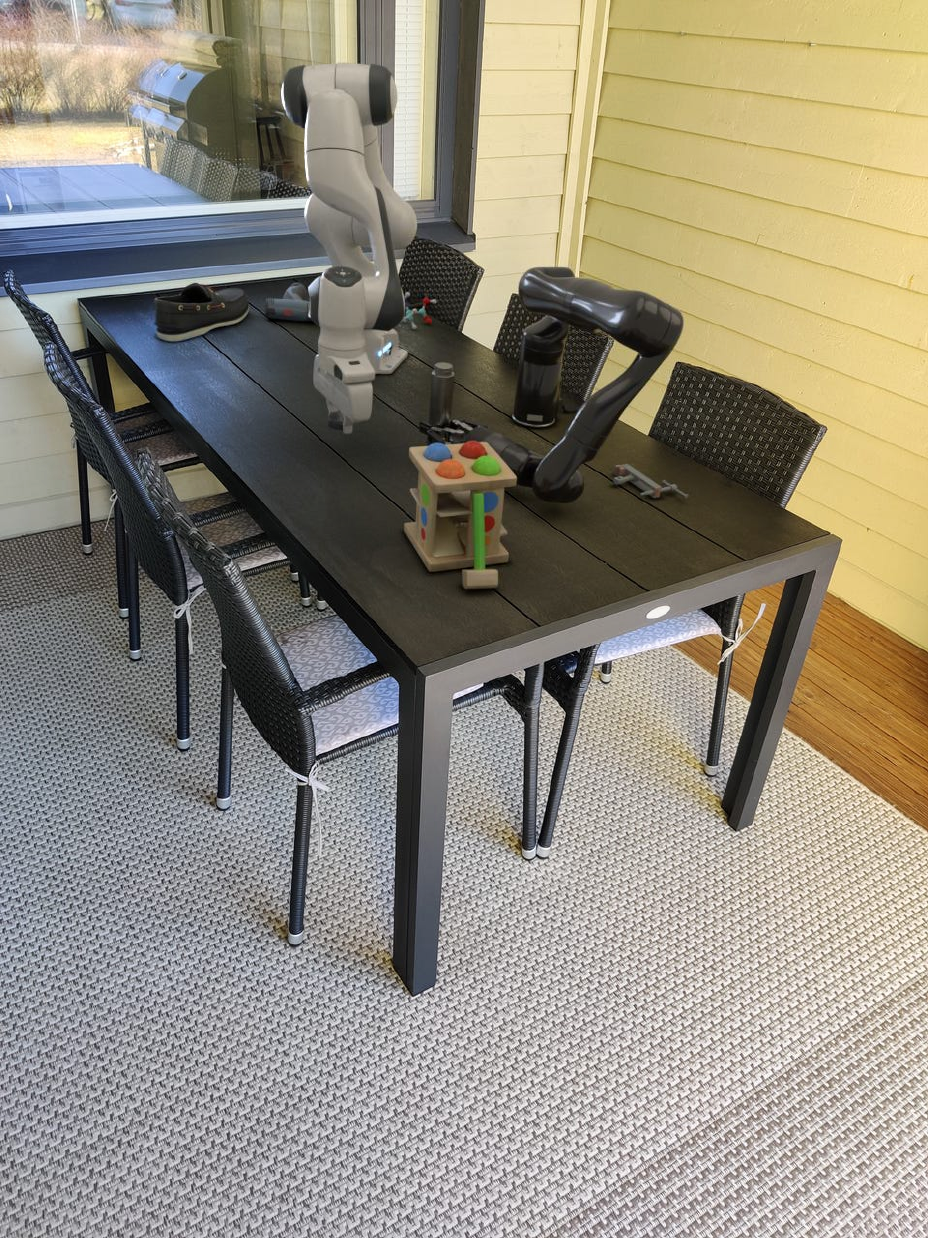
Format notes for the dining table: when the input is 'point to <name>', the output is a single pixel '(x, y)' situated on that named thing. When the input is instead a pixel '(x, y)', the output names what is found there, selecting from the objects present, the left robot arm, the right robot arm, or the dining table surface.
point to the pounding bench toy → (460, 509)
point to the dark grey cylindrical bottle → (441, 396)
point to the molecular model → (414, 311)
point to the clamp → (624, 475)
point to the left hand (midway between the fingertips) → (340, 426)
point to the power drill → (289, 305)
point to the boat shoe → (198, 311)
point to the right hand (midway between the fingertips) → (429, 423)
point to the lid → (335, 420)
